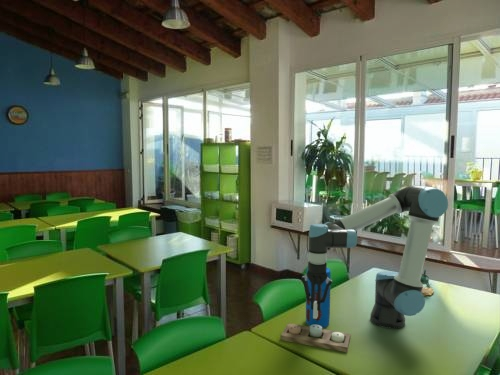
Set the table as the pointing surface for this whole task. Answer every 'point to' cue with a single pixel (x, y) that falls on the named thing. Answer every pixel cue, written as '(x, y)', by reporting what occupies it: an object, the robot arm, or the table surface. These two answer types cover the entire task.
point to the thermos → (325, 307)
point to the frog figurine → (425, 280)
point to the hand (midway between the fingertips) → (315, 317)
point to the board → (311, 341)
